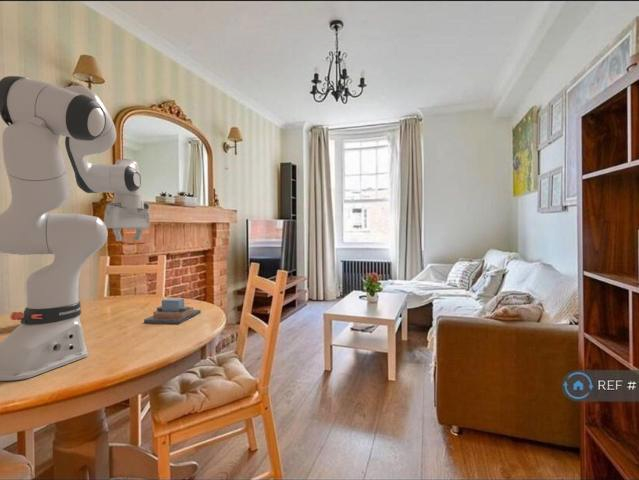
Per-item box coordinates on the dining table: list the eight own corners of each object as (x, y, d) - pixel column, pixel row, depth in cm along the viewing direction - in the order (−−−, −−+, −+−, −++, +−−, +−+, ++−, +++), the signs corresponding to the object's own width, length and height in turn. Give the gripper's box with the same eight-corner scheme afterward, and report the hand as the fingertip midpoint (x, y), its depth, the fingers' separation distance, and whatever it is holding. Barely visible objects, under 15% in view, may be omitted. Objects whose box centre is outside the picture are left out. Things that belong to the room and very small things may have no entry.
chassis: (179, 323, 123) (179, 315, 123) (144, 322, 125) (143, 314, 124) (200, 313, 138) (200, 305, 138) (169, 312, 140) (168, 304, 140)
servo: (185, 316, 129) (184, 300, 128) (156, 315, 130) (155, 300, 130) (190, 313, 133) (190, 298, 132) (162, 312, 134) (161, 297, 134)
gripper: (114, 201, 116) (115, 241, 116) (152, 205, 136) (153, 240, 136) (98, 201, 117) (99, 241, 117) (138, 206, 137) (139, 240, 137)
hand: (128, 240), depth 127 cm, fingers open, 8 cm apart
